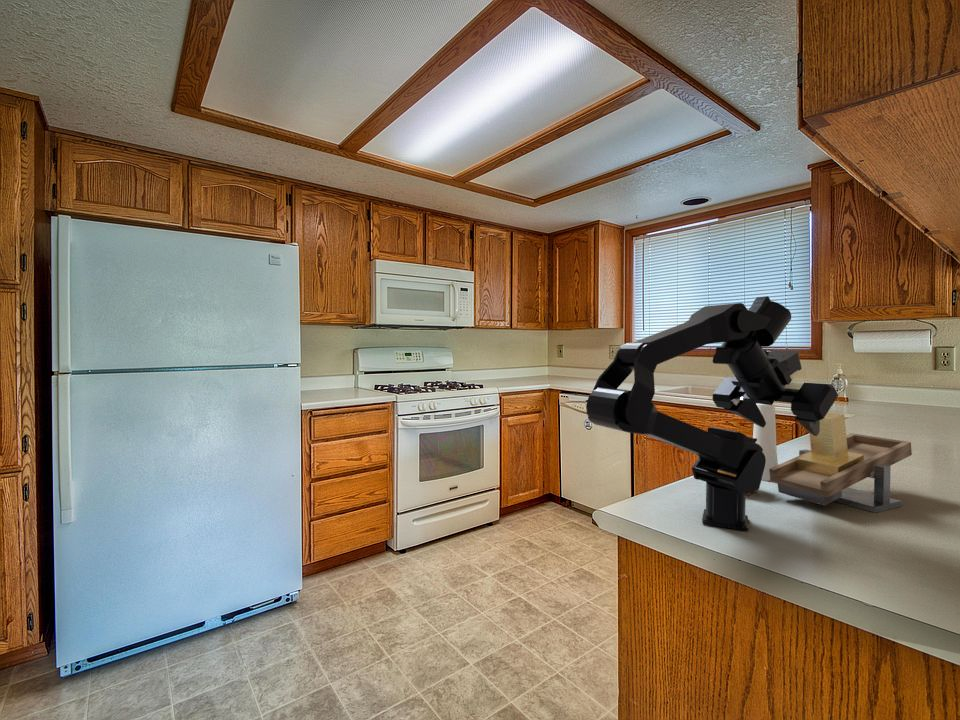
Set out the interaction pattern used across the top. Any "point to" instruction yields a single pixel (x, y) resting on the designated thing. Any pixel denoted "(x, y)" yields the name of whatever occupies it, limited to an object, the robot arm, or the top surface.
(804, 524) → the top surface
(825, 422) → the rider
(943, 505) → the top surface
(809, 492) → the beam
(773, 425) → the cosmetic bottle
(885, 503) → the beam stand
